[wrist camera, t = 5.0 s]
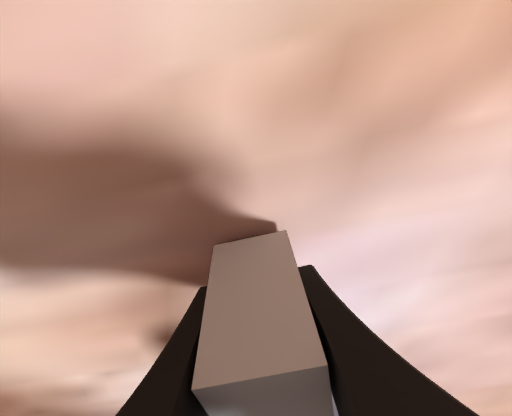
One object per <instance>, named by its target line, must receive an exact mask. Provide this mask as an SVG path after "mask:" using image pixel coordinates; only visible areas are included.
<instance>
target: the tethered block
mask: <svg viewBox="0 0 512 416" xmlns="http://www.w3.org/2000/svg"><path fill="white" fill-rule="evenodd" d="M191 390H192V392H193V393H194V395H195V396H196V398H197V399H198V401H199V402H200V403H201V405H202V406H203V408H204V409H205V411H206V412H207V414H208V415H209V416H339V415H338V412H337V408H336V405H335V402H334V399H333V396H332V393H331V387H330V379H329V371H328V364H327V361H326V358H325V354H324V351H323V348H322V345H321V341H320V338H319V335H318V332H317V328H316V325H315V322H314V319H313V316H312V312H311V309H310V306H309V303H308V299H307V296H306V293H305V290H304V286H303V283H302V280H301V277H300V274H299V270H298V267H297V264H296V261H295V257H294V254H293V251H292V248H291V244H290V241H289V238H288V235H287V232H286V230H284V231H279V232H275V233H270V234H265V235H260V236H256V237H251V238H246V239H242V240H237V241H232V242H227V243H223V244H218V245H214V247H213V254H212V260H211V267H210V273H209V280H208V286H207V292H206V299H205V305H204V312H203V318H202V324H201V331H200V337H199V344H198V350H197V357H196V363H195V369H194V376H193V382H192V389H191Z"/></svg>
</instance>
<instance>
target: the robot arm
mask: <svg viewBox="0 0 512 416" xmlns="http://www.w3.org/2000/svg"><path fill="white" fill-rule="evenodd" d="M298 270H299V274H300V277H301V280H302V283H303V286H304V290H305V293H306V296H307V299H308V303H309V306H310V309H311V312H312V316H313V319H314V322H315V325H316V328H317V332H318V335H319V338H320V341H321V345H322V348H323V351H324V354H325V358H326V361H327V364H328V371H329V379H330V387H331V393H332V396H333V399H334V402H335V405H336V408H337V412H338V415H339V416H479V415H478V414H476V413H475V412H473V411H472V410H471V409H469V408H468V407H466V406H465V405H464V404H462V403H461V402H460V401H458V400H457V399H455V398H454V397H453V396H451V395H450V394H449V393H447V392H446V391H445V390H443V389H442V388H441V387H439V386H438V385H437V384H435V383H434V382H433V381H431V380H430V379H429V378H427V377H426V376H425V375H423V374H422V373H421V372H420V371H418V370H417V369H416V368H415V367H413V366H412V365H411V364H410V363H408V362H407V361H406V360H405V359H403V358H402V357H401V356H400V355H399V354H397V353H396V352H395V351H394V350H393V349H392V348H390V347H389V346H388V345H387V344H386V343H385V342H383V341H382V340H381V339H380V338H379V337H378V336H377V335H376V334H375V333H373V332H372V331H371V330H370V329H369V328H368V327H367V326H366V325H365V324H364V323H363V322H362V321H361V320H360V319H359V318H358V317H357V316H356V315H355V314H354V313H353V312H352V311H351V310H350V309H349V308H348V307H347V306H346V305H345V304H344V303H343V302H342V301H341V300H340V299H339V297H338V296H337V295H336V294H335V293H334V292H333V291H332V290H331V288H330V287H329V286H328V285H327V284H326V282H325V281H324V280H323V279H322V277H321V276H320V275H319V273H318V272H317V271H316V269H315V268H314V266H312V265H307V266H302V267H298ZM206 292H207V286H204V287H200V289H199V290H198V292H197V294H196V296H195V297H194V299H193V301H192V303H191V305H190V306H189V308H188V310H187V312H186V313H185V315H184V317H183V318H182V320H181V322H180V323H179V325H178V327H177V328H176V330H175V332H174V333H173V335H172V337H171V338H170V340H169V342H168V343H167V345H166V346H165V348H164V349H163V351H162V352H161V354H160V355H159V357H158V358H157V360H156V361H155V363H154V364H153V366H152V367H151V369H150V370H149V372H148V373H147V375H146V376H145V377H144V379H143V380H142V382H141V383H140V384H139V386H138V387H137V388H136V390H135V391H134V392H133V394H132V395H131V396H130V398H129V399H128V400H127V402H126V403H125V404H124V406H123V407H122V408H121V409H120V411H119V412H118V413H117V414H116V416H209V415H208V414H207V412H206V411H205V409H204V408H203V406H202V405H201V403H200V402H199V401H198V399H197V398H196V396H195V395H194V393H193V392H192V390H191V389H192V382H193V376H194V369H195V363H196V357H197V350H198V344H199V337H200V331H201V324H202V318H203V312H204V305H205V299H206Z"/></svg>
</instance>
